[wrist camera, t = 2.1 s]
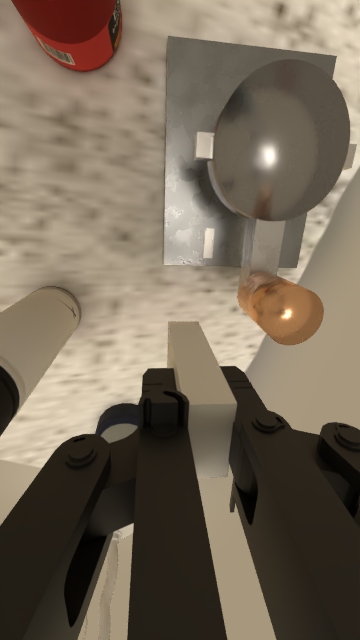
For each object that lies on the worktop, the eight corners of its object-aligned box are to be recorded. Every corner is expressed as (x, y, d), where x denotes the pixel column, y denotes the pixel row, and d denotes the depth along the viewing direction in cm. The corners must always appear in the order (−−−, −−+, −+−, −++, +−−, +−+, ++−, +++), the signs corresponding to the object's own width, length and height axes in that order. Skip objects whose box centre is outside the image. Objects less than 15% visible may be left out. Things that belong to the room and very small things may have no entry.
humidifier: (162, 435, 41) (179, 717, 18) (113, 454, 41) (67, 757, 18) (139, 394, 38) (123, 669, 15) (87, 416, 38) (-10, 718, 15)
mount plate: (167, 46, 25) (173, -21, 18) (327, 64, 27) (389, 10, 20) (163, 262, 32) (166, 274, 25) (290, 266, 34) (327, 277, 27)
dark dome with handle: (196, 72, 20) (228, -29, 12) (351, 89, 21) (477, 8, 13) (184, 306, 26) (200, 346, 18) (305, 307, 27) (371, 344, 19)
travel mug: (87, 293, 32) (4, 393, 14) (74, 341, 34) (-16, 485, 16) (33, 275, 31) (-142, 360, 12) (22, 326, 33) (-144, 464, 14)
